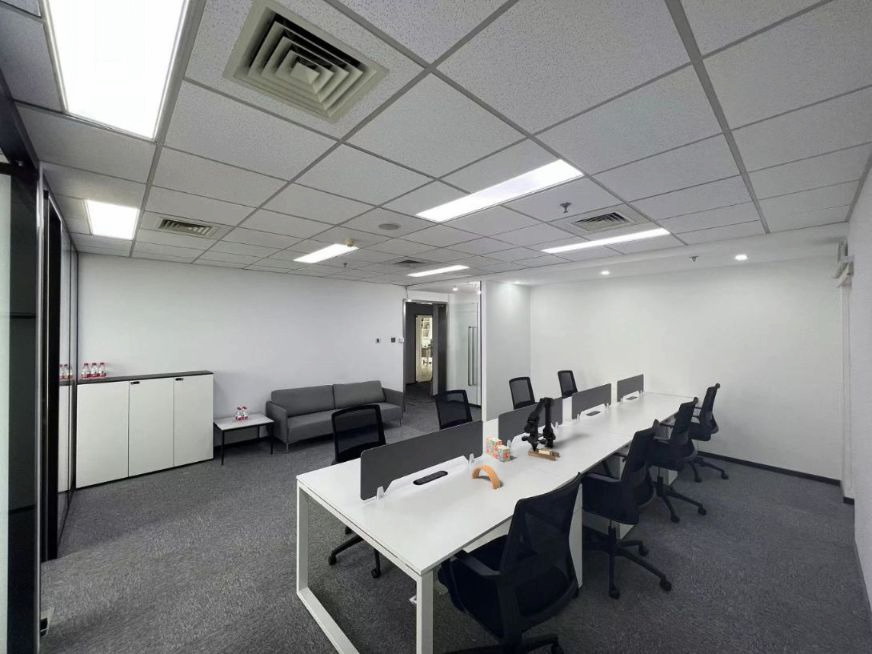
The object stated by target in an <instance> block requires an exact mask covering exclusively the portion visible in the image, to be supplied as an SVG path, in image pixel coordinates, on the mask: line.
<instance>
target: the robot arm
mask: <svg viewBox="0 0 872 654" xmlns="http://www.w3.org/2000/svg"><path fill="white" fill-rule="evenodd" d="M554 404H555V399H554V398H553V397H548V396H544V397H540V398H539V400H538V403H537V405H536V406H535V408H534V410H533V411H531V412H530V414H529V415H528V418H527V420H526V424H525V426H523V427H524V428H523V432H525V434H527V435H523V436H521V441H522V442H526V441H527V443H529V444H530V445H531V448H532V451H534V452H535V451H536V448H538V446H539V445H544V448H548V449H553V448H554V447H556V445H554V441H556V439H557V436H556V435H555V433H554V432H555V431H554V428H553V427H552V408H553V407H554V406H555V405H554ZM543 409H544V427H543V428H542V438H541V439H540V438H539V434H540V432H539V425H540V423H539V422H540V420H541V414H542V411H543ZM528 434H529V435H528Z"/></svg>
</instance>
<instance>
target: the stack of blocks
mask: <svg viewBox="0 0 872 654" xmlns="http://www.w3.org/2000/svg"><path fill="white" fill-rule="evenodd" d="M485 442H486V443H485V445H486V446H485V447H486V448H485V449H486V451H485V452H486V454H487V455H489V456H491V457H493V458H495V459H496V460H498V461H500V462H502V463H506V462H510V456H511V453H510V451H511V449H510V447H508V446H506V445H504V444H503V440H501V439H499V438H498V437H494V436H488V437H485Z"/></svg>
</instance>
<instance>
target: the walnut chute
mask: <svg viewBox="0 0 872 654" xmlns="http://www.w3.org/2000/svg"><path fill="white" fill-rule="evenodd" d="M540 449H541V448H538V447H537V448H536V451H535V452H534V451H533V450H528V451H527V456H530V457H534V458H538V459H544V460H549V461H553V462H555V461H556V458H560V452H557V451H553V450H552V455H547V454H542V453H539V450H540Z"/></svg>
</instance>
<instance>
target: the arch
mask: <svg viewBox="0 0 872 654" xmlns="http://www.w3.org/2000/svg"><path fill="white" fill-rule="evenodd" d="M481 470H482V471H484V472H485V473H486V475H487V476H488V477H489V479H490V482H491V485H492V490H493V489H495V490H498V489H500V488H501V482H500V478H499V475H498V474H497V472H496V470H495V469H494V468H492V467H491V466H490V465H487V464H483V465H481V466H477V467H475V468H474V469H473V470H472V473H471V480H475V479H477V478H478V479H479V478H480V473H481ZM499 487H500V488H499ZM497 488H498V489H497Z"/></svg>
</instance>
